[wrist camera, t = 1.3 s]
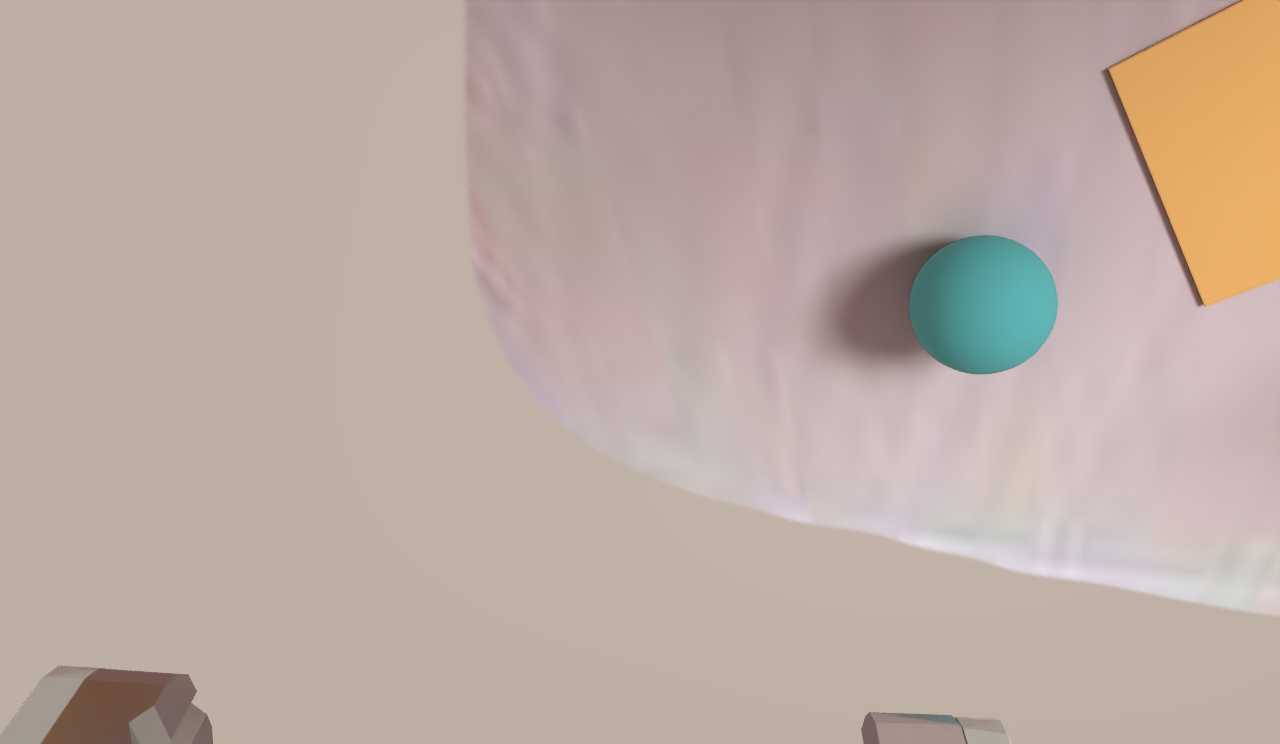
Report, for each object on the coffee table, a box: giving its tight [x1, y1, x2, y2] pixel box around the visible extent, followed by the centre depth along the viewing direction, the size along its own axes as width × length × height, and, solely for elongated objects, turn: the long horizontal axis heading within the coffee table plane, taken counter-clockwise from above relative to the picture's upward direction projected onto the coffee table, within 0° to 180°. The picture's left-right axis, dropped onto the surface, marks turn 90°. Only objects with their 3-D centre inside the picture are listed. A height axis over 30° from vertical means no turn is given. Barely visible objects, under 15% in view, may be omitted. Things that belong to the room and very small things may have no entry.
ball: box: [909, 235, 1058, 374], centre depth 38 cm, size 6×6×6 cm
